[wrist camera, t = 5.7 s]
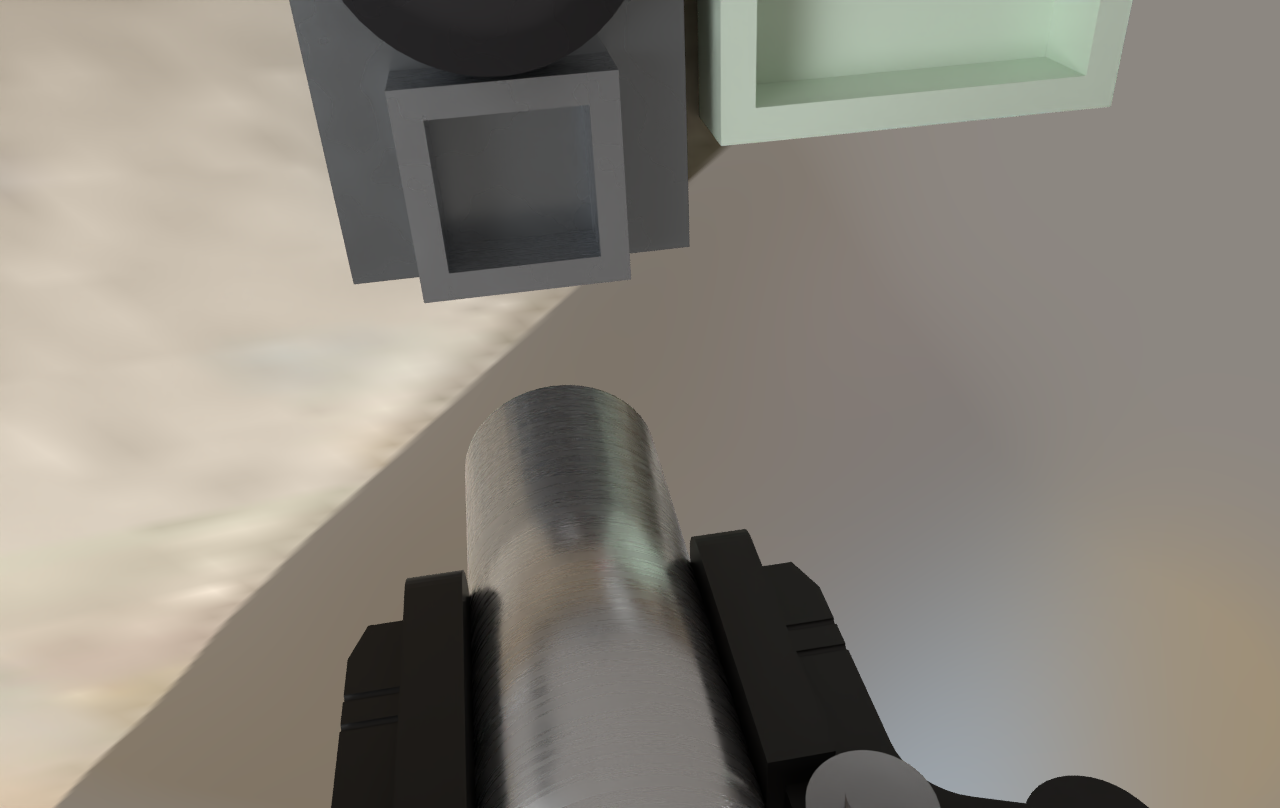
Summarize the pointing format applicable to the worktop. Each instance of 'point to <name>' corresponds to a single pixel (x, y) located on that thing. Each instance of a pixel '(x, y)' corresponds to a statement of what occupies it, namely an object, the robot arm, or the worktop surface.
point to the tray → (899, 63)
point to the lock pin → (590, 620)
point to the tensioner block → (500, 137)
